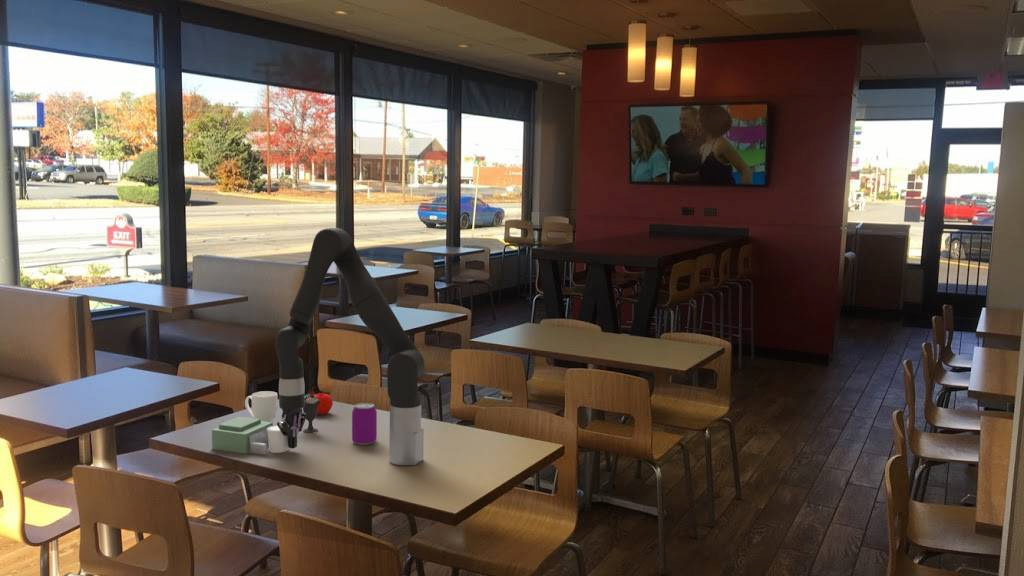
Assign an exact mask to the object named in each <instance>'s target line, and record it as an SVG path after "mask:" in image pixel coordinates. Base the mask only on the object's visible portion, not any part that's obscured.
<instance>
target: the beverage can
mask: <svg viewBox="0 0 1024 576" xmlns="http://www.w3.org/2000/svg"><path fill="white" fill-rule="evenodd" d="M377 413H378V412H377V408H376V406H375V404H374V403H371V402H360V403H356V404H354V406H353V409H352V412H351V440H352V442H354V444H356V445H357V446H358V445H359V446H369V445H372V444H374V443H375V442H376V441H377V436H378V435H377V433H378V432H377V431H378V430H377V428H378V427H377V426H378V425H377V424H378V421H377V419H378V417H377V416H378V414H377Z"/></svg>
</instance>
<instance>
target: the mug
mask: <svg viewBox="0 0 1024 576" xmlns="http://www.w3.org/2000/svg"><path fill="white" fill-rule="evenodd" d="M249 399H250V400H251V407H250V405H249ZM244 407H245V410H246V411H247V412H248V414H250V416H251V418H254V419H261V421H265V422H273V423H274V421H275V418H276V416H277V413H278V408H279V394H278V392H275V391H270V390H263V391H256V392H253V393H252V394H251V395H248V396H247V397H246V398H245V399H244Z"/></svg>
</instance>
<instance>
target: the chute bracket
mask: <svg viewBox="0 0 1024 576" xmlns="http://www.w3.org/2000/svg"><path fill="white" fill-rule="evenodd" d="M268 445H269V444H268V435H267V428H266V429H264V430H261V431H259V432H257V433H255V434H252V435H250V436H248V453H250V454H257V455H263V456H264V455H267V454H268Z"/></svg>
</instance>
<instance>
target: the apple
mask: <svg viewBox="0 0 1024 576" xmlns="http://www.w3.org/2000/svg"><path fill="white" fill-rule="evenodd" d="M315 395H316V398H317V399H318V400H320V403H319V404H318V411H317V415H327V414H328V413H330V411H331V410H332V409H333V405H334V404H333V403H334V402H333V398H332V396H331V395H329V394H328V393H316V394H315Z"/></svg>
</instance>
